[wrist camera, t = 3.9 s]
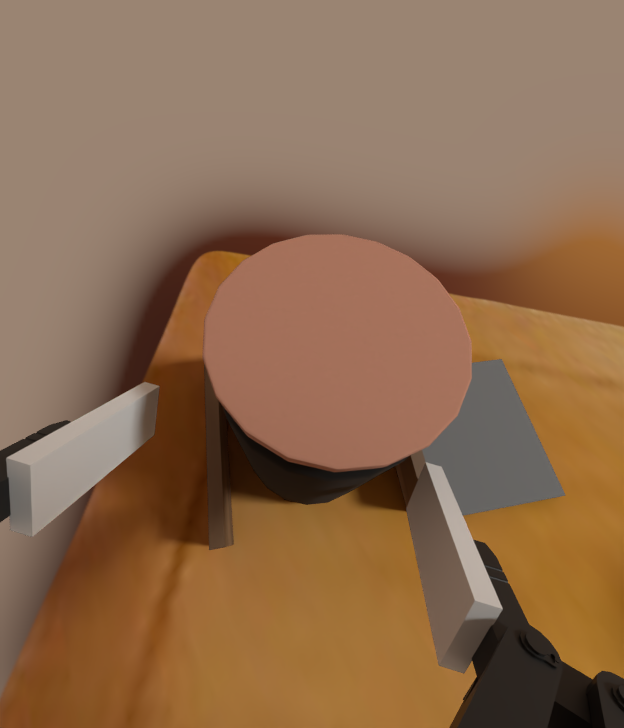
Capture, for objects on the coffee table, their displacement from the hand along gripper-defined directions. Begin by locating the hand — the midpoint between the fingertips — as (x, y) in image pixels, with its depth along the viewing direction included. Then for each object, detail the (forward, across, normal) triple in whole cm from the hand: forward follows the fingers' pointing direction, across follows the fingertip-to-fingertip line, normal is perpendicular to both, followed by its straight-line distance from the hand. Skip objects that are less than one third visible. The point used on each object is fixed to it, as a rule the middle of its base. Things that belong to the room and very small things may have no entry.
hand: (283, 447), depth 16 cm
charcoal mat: (+15, +15, -3) cm, 22 cm away
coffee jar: (+12, +1, -6) cm, 14 cm away
